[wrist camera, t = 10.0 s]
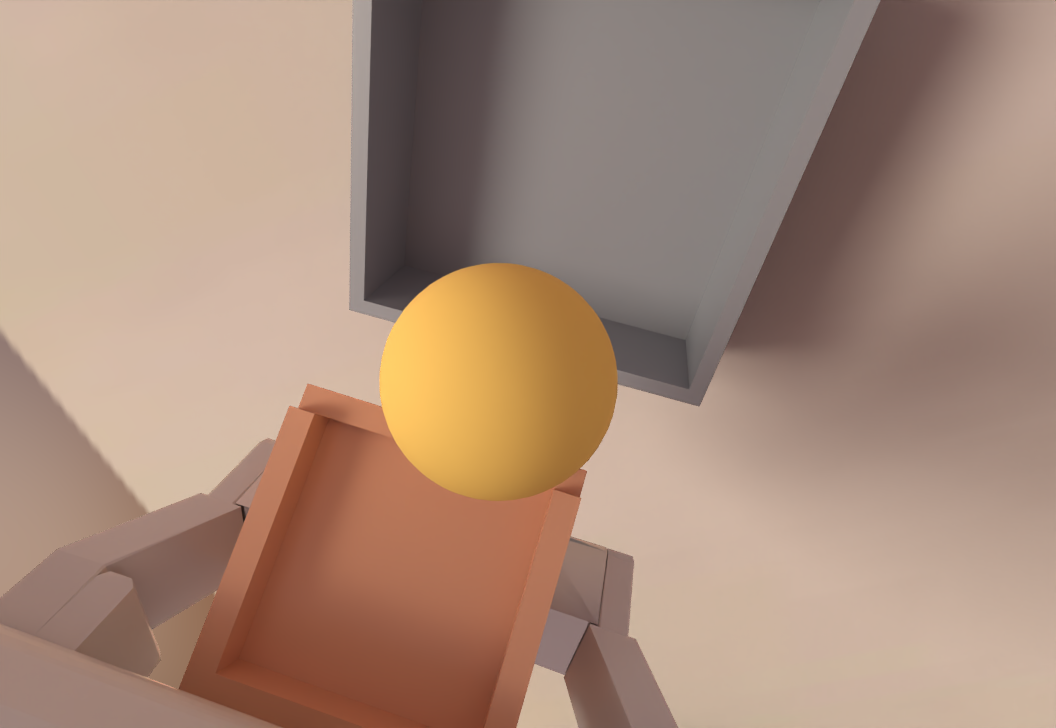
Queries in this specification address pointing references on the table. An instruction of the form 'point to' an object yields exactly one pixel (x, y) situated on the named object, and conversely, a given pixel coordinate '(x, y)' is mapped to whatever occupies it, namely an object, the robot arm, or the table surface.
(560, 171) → the tray
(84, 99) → the table surface
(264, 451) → the robot arm
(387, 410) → the ball
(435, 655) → the square container
